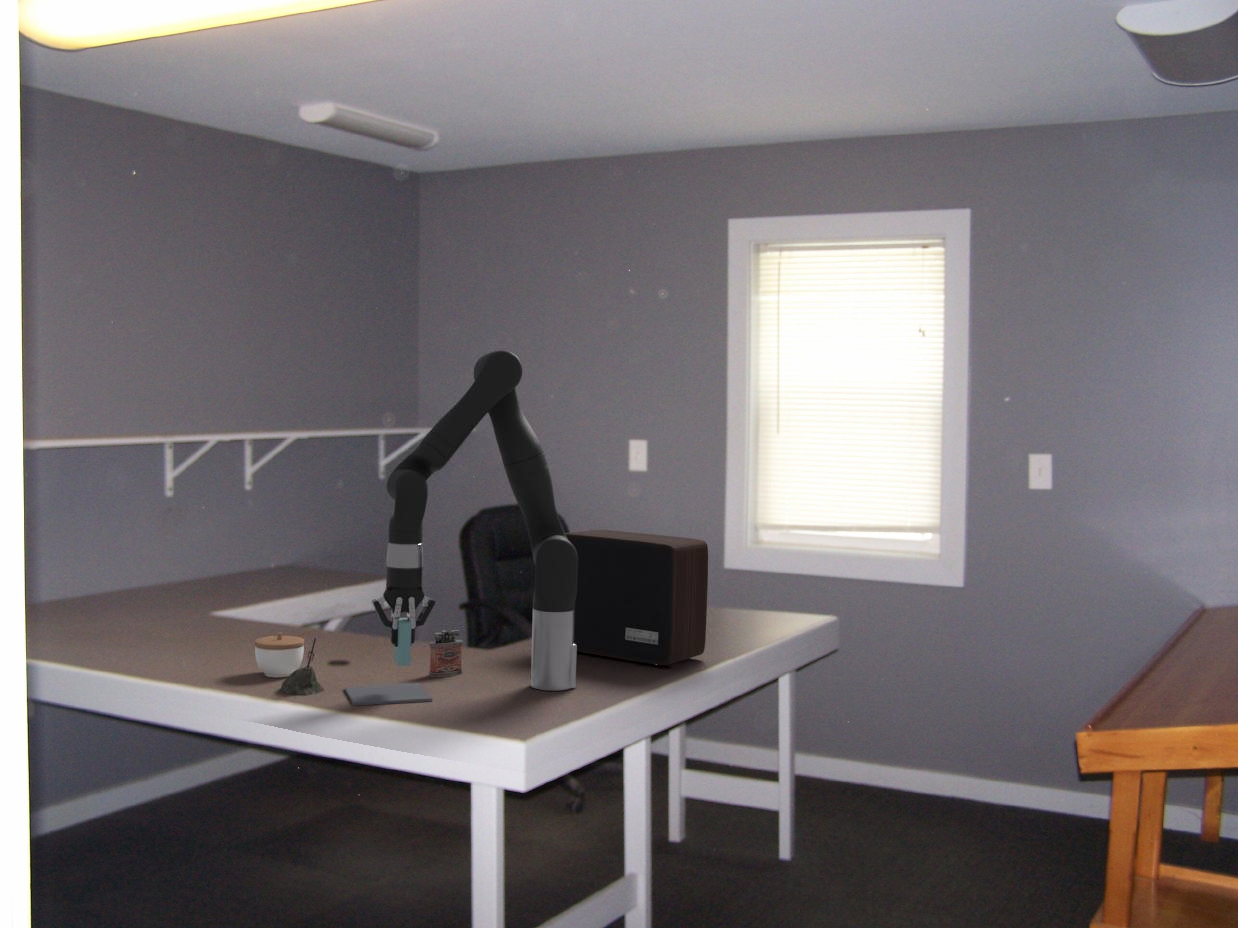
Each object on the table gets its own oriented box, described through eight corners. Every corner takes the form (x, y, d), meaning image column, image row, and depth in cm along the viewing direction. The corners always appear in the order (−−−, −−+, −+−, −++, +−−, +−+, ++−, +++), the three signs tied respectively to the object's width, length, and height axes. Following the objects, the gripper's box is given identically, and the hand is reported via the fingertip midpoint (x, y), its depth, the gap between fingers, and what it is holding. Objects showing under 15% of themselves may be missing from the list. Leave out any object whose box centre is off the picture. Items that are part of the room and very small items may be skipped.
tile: (405, 659, 260) (406, 617, 260) (410, 665, 255) (411, 622, 254) (393, 659, 260) (394, 617, 259) (398, 665, 254) (399, 623, 254)
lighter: (433, 677, 274) (434, 633, 274) (426, 674, 277) (427, 630, 276) (464, 673, 279) (465, 630, 278) (457, 670, 282) (458, 628, 281)
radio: (708, 659, 303) (712, 539, 302) (671, 671, 289) (675, 544, 287) (590, 640, 324) (593, 527, 322) (549, 650, 309) (552, 532, 307)
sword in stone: (269, 690, 258) (270, 635, 258) (298, 684, 265) (299, 630, 264) (302, 698, 253) (303, 641, 252) (330, 691, 260) (331, 636, 259)
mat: (419, 685, 266) (419, 683, 266) (432, 701, 253) (432, 698, 253) (344, 689, 260) (344, 686, 260) (353, 705, 247) (353, 702, 247)
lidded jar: (285, 667, 280) (285, 626, 280) (313, 674, 274) (314, 633, 273) (244, 674, 272) (245, 632, 272) (272, 682, 265) (273, 639, 265)
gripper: (374, 566, 250) (372, 650, 251) (441, 566, 255) (438, 648, 256) (368, 562, 257) (366, 643, 258) (433, 561, 262) (431, 641, 263)
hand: (402, 645), depth 257 cm, fingers closed on tile, 2 cm apart
